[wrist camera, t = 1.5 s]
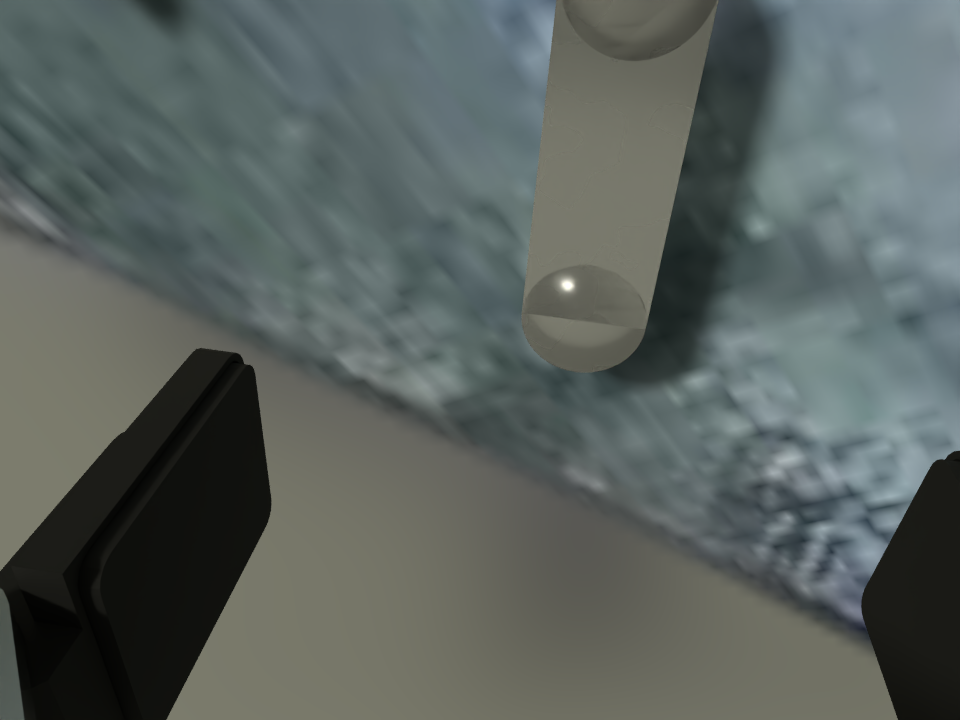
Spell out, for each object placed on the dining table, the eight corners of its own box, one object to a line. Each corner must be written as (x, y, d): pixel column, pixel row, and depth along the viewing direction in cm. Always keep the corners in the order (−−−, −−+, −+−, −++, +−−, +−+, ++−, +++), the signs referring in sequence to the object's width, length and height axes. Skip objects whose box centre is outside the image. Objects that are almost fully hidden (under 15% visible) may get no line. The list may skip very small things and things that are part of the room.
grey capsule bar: (726, -116, 20) (743, -113, 17) (632, 327, 28) (634, 380, 25) (577, -128, 20) (570, -127, 17) (527, 312, 28) (516, 363, 25)
